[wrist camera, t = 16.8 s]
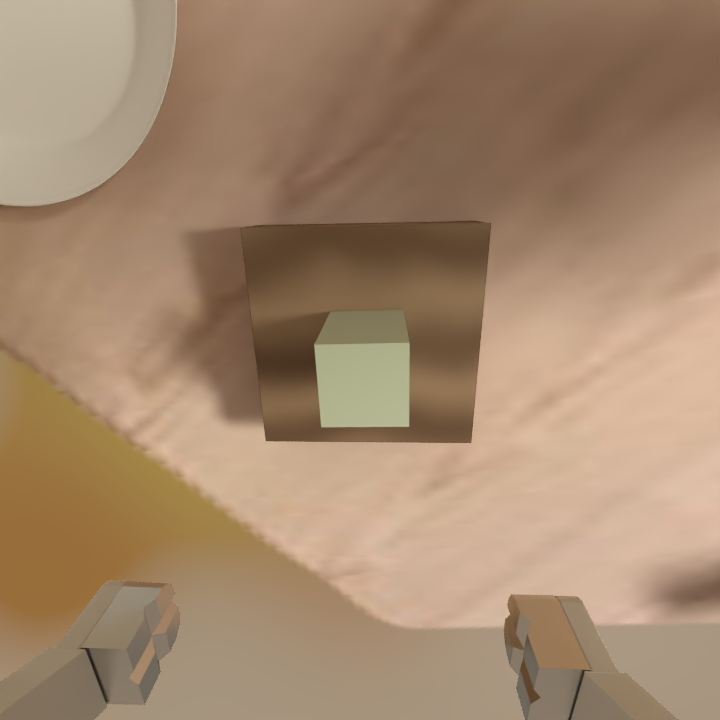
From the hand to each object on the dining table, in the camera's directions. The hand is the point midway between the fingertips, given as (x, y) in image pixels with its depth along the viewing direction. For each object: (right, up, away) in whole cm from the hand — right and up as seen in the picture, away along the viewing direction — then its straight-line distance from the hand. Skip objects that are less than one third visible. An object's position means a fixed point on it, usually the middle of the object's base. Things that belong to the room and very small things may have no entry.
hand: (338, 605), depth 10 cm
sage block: (+1, +7, +19) cm, 20 cm away
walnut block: (+1, +9, +23) cm, 25 cm away
